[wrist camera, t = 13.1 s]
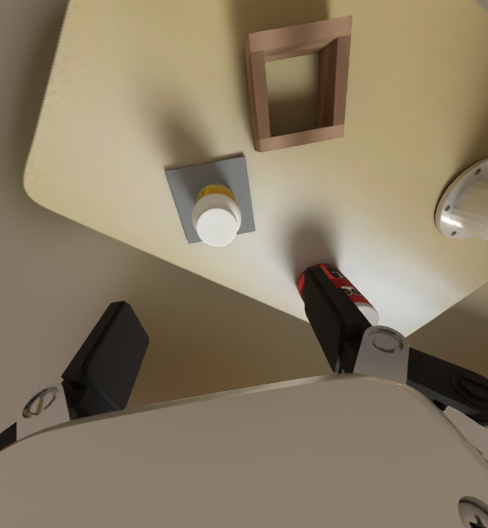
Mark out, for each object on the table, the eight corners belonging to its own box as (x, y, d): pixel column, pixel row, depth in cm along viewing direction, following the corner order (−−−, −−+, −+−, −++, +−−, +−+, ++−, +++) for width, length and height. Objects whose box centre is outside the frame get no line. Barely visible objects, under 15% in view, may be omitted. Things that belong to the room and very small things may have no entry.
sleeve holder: (331, 34, 22) (352, 15, 18) (326, 137, 27) (343, 137, 23) (243, 50, 22) (248, 33, 18) (254, 150, 27) (260, 152, 23)
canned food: (344, 284, 40) (384, 330, 30) (304, 303, 41) (331, 353, 31) (332, 254, 36) (373, 295, 26) (289, 276, 37) (314, 323, 28)
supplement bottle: (230, 226, 31) (235, 258, 22) (192, 216, 29) (184, 247, 21) (241, 189, 28) (251, 210, 20) (201, 176, 27) (194, 193, 19)
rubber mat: (244, 156, 27) (244, 156, 26) (254, 229, 32) (255, 230, 31) (165, 170, 27) (165, 171, 26) (189, 242, 32) (188, 243, 31)
